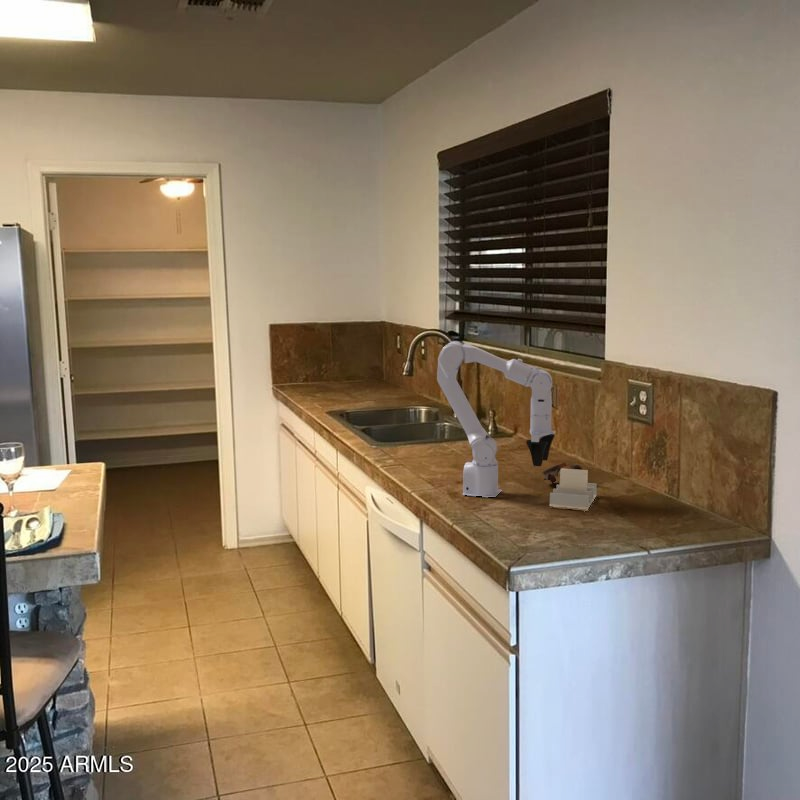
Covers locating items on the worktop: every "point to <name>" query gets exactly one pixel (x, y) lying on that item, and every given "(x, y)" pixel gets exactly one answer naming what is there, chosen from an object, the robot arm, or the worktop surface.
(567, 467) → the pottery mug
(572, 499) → the dish rack
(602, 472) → the worktop surface
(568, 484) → the beige rectangular block
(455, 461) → the worktop surface
